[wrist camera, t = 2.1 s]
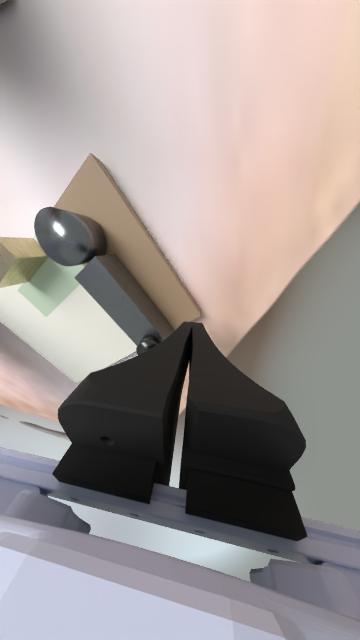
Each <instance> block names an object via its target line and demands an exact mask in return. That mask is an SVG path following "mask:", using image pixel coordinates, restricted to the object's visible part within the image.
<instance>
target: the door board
mask: <svg viewBox="0 0 360 640" xmlns="http://www.w3.org/2000/svg"><path fill="white" fill-rule="evenodd" d="M54 208H58V209H62V210H66V211H70V212H74V213H78V214H82V215H85V216H88V217H90V218H92V219H93V220H95V221H96V222H97V223H98V224H99V226H100V227H101V229H102V230H103V232H104V234H105V237H106V242H107V250H106V253H105V255H112V254H116V256H117V257H118V258H119V259H120V261H121V262H122V263H123V265H124V266H125V267H126V268H127V270H128V271H129V272H130V274H131V275H132V276H133V277H134V279H135V280H136V281H137V283H138V284H139V285H140V286H141V288H142V289H143V290H144V292H145V293H146V294H147V295H148V297H149V298H150V299H151V301H152V302H153V303H154V304H155V306H156V307H157V308H158V310H159V311H160V312H161V313H162V315H163V316H164V317H165V319H166V320H167V321H168V323H169V324H170V325H171V326H172V328H173V329H174V330H176V329H177V328H178V327H179V326H180V325H181V324H182V323H183V322H184V321H185V322H191V321H193V320H194V319H196V318H198V317H200V316H201V310H200V309H199V307H198V306H197V304H196V303H195V301H194V300H193V298H192V297H191V295H190V294H189V292H188V291H187V289H186V288H185V286H184V285H183V283H182V282H181V280H180V279H179V277H178V276H177V274H176V273H175V271H174V270H173V268H172V267H171V265H170V264H169V262H168V261H167V259H166V258H165V256H164V255H163V253H162V252H161V250H160V249H159V247H158V246H157V244H156V243H155V241H154V240H153V238H152V237H151V235H150V234H149V233H148V231H147V230H146V228H145V227H144V225H143V224H142V222H141V221H140V219H139V218H138V216H137V215H136V213H135V212H134V210H133V209H132V207H131V206H130V204H129V203H128V201H127V200H126V198H125V197H124V195H123V194H122V192H121V191H120V189H119V188H118V186H117V185H116V183H115V182H114V180H113V179H112V177H111V176H110V174H109V173H108V171H107V170H106V168H105V167H104V165H103V164H102V162H101V161H100V160H99V159H97V158H96V157H95V156H94V155H92V154H91V153H90V154H89V156H88V157H87V159H86V160H85V162H84V163H83V165H82V166H81V168H80V169H79V171H78V172H77V174H76V175H75V176H74V178H73V179H72V181H71V182H70V184H69V185H68V187H67V188H66V190H65V191H64V193H63V194H62V196H61V197H60V199H59V200H58V202H57V203H56V205H55V206H54ZM33 239H34V240H35V241H36V242H37V243H38V244H39V242H38V240H37V237H36V235H35V237H34V238H33ZM39 245H40V244H39ZM86 265H87V264H82V265H76V266H63V265H60V264H58V263H56V262H55V261H53V260H52V259H51V258H49V257H48V258H47V260H46V261H45V262H44V263H43V265H42V266H41V267H40V268H39V270H38V271H37V272H36V274H35V275H34V276H33V277H32V279H31V280H30V281H29V282H26V283H22V284H17V285H12V286H7V287H3V288H0V322H1V323H2V324H4V325H5V326H6V327H7V328H8V329H10V330H11V331H12V332H13V333H15V334H16V335H17V336H18V337H19V338H21V339H22V340H23V341H24V342H26V343H27V344H28V345H29V346H31V347H32V348H33V349H34V350H35V351H37V352H38V353H39V354H40V355H42V356H43V357H44V358H45V359H46V360H48V361H49V362H50V363H51V364H53V365H54V366H55V367H56V368H57V369H59V370H60V371H61V372H62V373H64V374H65V375H66V376H67V377H68V378H70V379H71V380H72V381H73V382H75V383H78V382H80V381H82V380H84V379H85V378H86V377H87V376H88V375H89V374H90V373H91V372H95V371H98V370H101V369H104V368H106V367H108V366H109V365H111V364H113V363H115V362H117V361H119V360H121V359H122V358H124V357H126V356H128V355H130V354H132V353H133V352H135V351H136V348H137V345H136V344H135V343H134V342H133V341H132V340H131V339H130V338H129V337H128V336H127V335H126V333H125V332H124V331H123V330H122V329H121V328H120V327H119V326H118V325H117V324H116V323H115V321H114V320H113V319H112V318H111V317H110V316H109V315H108V314H107V313H106V312H105V311H104V310H103V308H102V307H101V306H100V305H99V304H98V303H97V302H96V301H95V300H94V299H93V298H92V296H91V295H90V294H89V293H88V292H87V291H86V290H85V289H84V288H83V287H82V286H81V284H80V283H79V282H78V281H77V280H76V279H75V278H74V277H75V276H76V275H77V274H78V273H79V272H80V271H81V270H82V269H83V268H84V267H85V266H86Z"/></svg>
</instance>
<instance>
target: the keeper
mask: <svg viewBox="0 0 360 640" xmlns="http://www.w3.org/2000/svg"><path fill="white" fill-rule="evenodd" d="M47 258H48V256H47V254H46V253H45V252H44V251H43V249H42V248H41V246H40V245H39V244H38V243H37V242H36V241H35V240H34V239H33V238H10V237H0V288H3V287H7V286H12V285H17V284H22V283H26V282H29V281H30V280H31V279H32V277H33V276H34V275H35V274H36V272H37V271H38V270H39V268H40V267H41V266H42V265H43V263H44V262H45V261H46V260H47Z"/></svg>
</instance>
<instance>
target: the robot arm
mask: <svg viewBox="0 0 360 640" xmlns="http://www.w3.org/2000/svg"><path fill="white" fill-rule="evenodd" d="M188 363H189V386H188V394H187V404H186V416H185V428H184V438H183V448H182V458H181V469H180V481H179V488H174V487H170V486H169V482H170V474H171V466H172V458H173V451H174V444H175V436H176V429H177V422H178V414H179V407H180V400H181V394H182V389H183V384H184V380H185V376H186V372H187V368H188ZM58 419H59V422H60V424H61V426H62V427H63V429H64V431H65V432H66V434H67V436H68V437H69V439H70V441H71V442H72V444H71V446H70V447H69V449H68V450H67V452H66V453H65V455H64V456H63V458H62V459H61V461H57V460H54V459H49V458H45V457H40V456H36V455H32V454H28V453H23V452H18V451H15V450H10V449H6V448H1V447H0V640H360V530H356V529H351V528H347V527H342V526H338V525H334V524H330V523H325V522H321V521H317V520H312V519H308V518H304V517H301V515H300V513H299V510H298V507H297V504H296V501H295V499H294V496H293V493H292V491H294V490H295V484H294V482H293V479H292V476H291V474H290V471H289V470H290V469H291V467H292V466H293V465H294V464H295V463H296V462H297V461H298V460H299V458H300V457H301V456H302V454H303V452H304V450H305V448H306V442H305V441H306V440H305V438H304V437H303V434H302V433H301V431H300V429H299V427H298V425H297V423H296V421H295V419H294V417H293V415H292V414H291V412H290V411H289V409H288V407H287V405H286V404H285V402H284V401H282V400H281V399H279V398H278V397H276V396H275V395H273V394H272V393H270V392H268V391H267V390H265V389H264V388H262V387H261V386H259V385H258V384H256V383H255V382H254V381H252V380H251V379H250V378H248V377H247V376H246V375H244V374H243V373H242V372H241V371H239V370H238V369H237V368H236V367H235V366H234V365H233V364H232V363H230V362H229V361H228V360H227V359H226V358H225V357H224V355H223V354H222V353H221V352H220V351H219V350H218V348H217V347H216V346H215V344H214V343H213V341H212V340H211V338H210V337H209V335H208V333H207V332H206V330H205V328H204V325H203V324H202V323H195V322H185V321H184V322H183V323H182V324H181V325H180V326H179V327H178V328H177V329H176V330H175V331H174V332H173V333H172V334H171V335H170V336H168V337H167V338H166V339H165V340H163V341H162V342H161V343H159V344H158V345H156V346H155V347H153V348H152V349H150V350H148V351H146V352H144V353H142V354H140V355H138V356H136V357H134V358H132V359H129V360H127V361H124V362H122V363H119V364H116V365H114V366H110V367H107V368H104V369H101V370H98V371H95V372H91V373H90V374H89V375H88V376H87V377H86V378H85V379H84V380H83V381H82V382H81V383H80V384H79V385H78V387H77V388H76V389H75V390H74V391H73V392H72V393H71V394H70V396H69V397H68V398H67V399H66V400H65V401H64V402H63V403H62V405H61V406H60V407H59V409H58ZM47 495H48V496H52V497H55V498H59V499H63V500H67V501H71V502H74V503H78V504H82V505H86V506H89V507H93V508H97V509H101V510H105V511H108V512H112V513H116V514H120V515H124V516H127V517H131V518H135V519H139V520H143V521H146V522H150V523H154V524H157V525H161V526H165V527H169V528H173V529H177V530H181V531H184V532H188V533H192V534H195V535H199V536H203V537H207V538H210V539H214V540H218V541H222V542H225V543H229V544H233V545H237V546H241V547H245V548H248V549H252V550H256V551H259V552H263V553H267V554H271V555H275V556H278V557H282V558H286V559H290V560H293V561H297V562H290V561H283V560H275V559H271V560H270V562H269V564H268V566H266V567H264V568H259V569H251V571H250V580H251V582H249V581H245V580H242V579H240V578H237V577H233V576H230V575H227V574H224V573H221V572H218V571H215V570H212V569H209V568H206V567H203V566H200V565H196V564H193V563H190V562H186V561H183V560H180V559H177V558H174V557H170V556H167V555H163V554H160V553H157V552H153V551H149V550H146V549H143V548H139V547H136V546H132V545H129V544H125V543H121V542H118V541H114V540H110V539H106V538H102V537H98V536H95V535H91V534H89V532H90V530H91V528H90V525H89V524H88V523H86V522H85V521H83V520H82V519H80V518H79V517H78V516H77V515H76V514H75V513H73V510H72V509H71V507H70V506H68V505H66V504H63V503H61V502H58V501H56V500H54V499H51V498H49V497H48V496H47ZM298 562H301V563H298Z"/></svg>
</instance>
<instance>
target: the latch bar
mask: <svg viewBox="0 0 360 640" xmlns="http://www.w3.org/2000/svg"><path fill="white" fill-rule="evenodd" d="M34 228H35V234H36V237H37V240H38V242H39V244H40V246H41V248H42V249H43V251H44V252H45V253H46V254H47V256H48V257H49V258H51V259H52V260H53V261H55V262H56V263H58V264H60V265H63V266H76V265H82V264H87V265H86V266H85V267H84V268H83V269H82V270H81V271H80V272H79V273H78V274H77V275H76V276H75V277H74V278H75V279H76V280H77V281H78V282H79V283H80V284H81V286H82V287H83V288H84V289H85V290H86V291H87V292H88V293H89V294H90V295H91V296H92V298H93V299H94V300H95V301H96V302H97V303H98V304H99V305H100V306H101V307H102V308H103V310H104V311H105V312H106V313H107V314H108V315H109V316H110V317H111V318H112V319H113V320H114V321H115V323H116V324H117V325H118V326H119V327H120V328H121V329H122V330H123V331H124V332H125V333H126V335H127V336H128V337H129V338H130V339H131V340H132V341H133V342H134V343H135V344H136V345H137V348H136V351H137V354H138V355H140V354H142V353H144V352H146V351H148V350H150V349H152V348H153V347H155V346H156V345H158V344H159V343H161V342H162V341H163V340H165V339H166V338H167V337H168V336H170V335H171V334H172V333H173V332H174V331H175V330H174V329H173V328H172V326H171V325H170V324H169V323H168V321H167V320H166V319H165V317H164V316H163V315H162V313H161V312H160V311H159V310H158V308H157V307H156V306H155V304H154V303H153V302H152V301H151V299H150V298H149V297H148V295H147V294H146V293H145V292H144V290H143V289H142V288H141V286H140V285H139V284H138V283H137V281H136V280H135V279H134V277H133V276H132V275H131V274H130V272H129V271H128V270H127V268H126V267H125V266H124V265H123V263H122V262H121V261H120V259H119V258H118V257H117V256H116V254H112V255H105V253H106V250H107V242H106V237H105V234H104V232H103V230H102V229H101V227H100V226H99V224H98V223H97V222H96V221H95V220H93V219H92V218H90V217H88V216H85V215H82V214H78V213H74V212H70V211H66V210H62V209H58V208H54V207H46V208H43V209H41V210H40V211H39V212H38V214H37V215H36V218H35V223H34Z"/></svg>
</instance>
